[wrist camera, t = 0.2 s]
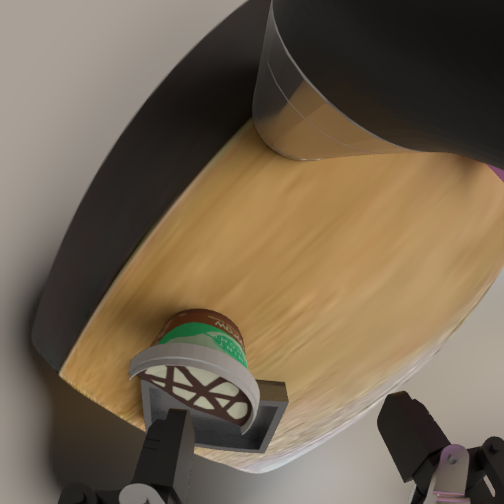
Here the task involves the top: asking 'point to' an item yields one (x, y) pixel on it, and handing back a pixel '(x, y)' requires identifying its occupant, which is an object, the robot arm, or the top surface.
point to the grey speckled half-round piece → (202, 366)
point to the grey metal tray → (217, 429)
